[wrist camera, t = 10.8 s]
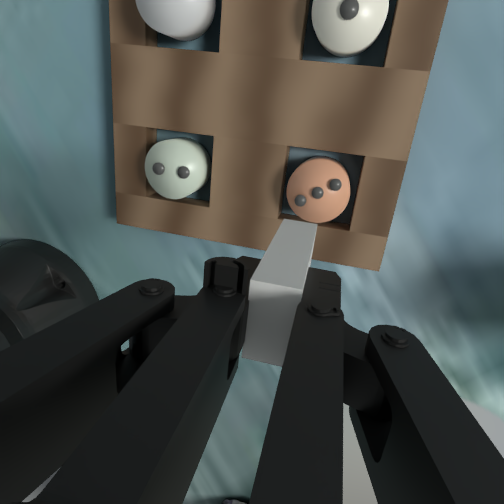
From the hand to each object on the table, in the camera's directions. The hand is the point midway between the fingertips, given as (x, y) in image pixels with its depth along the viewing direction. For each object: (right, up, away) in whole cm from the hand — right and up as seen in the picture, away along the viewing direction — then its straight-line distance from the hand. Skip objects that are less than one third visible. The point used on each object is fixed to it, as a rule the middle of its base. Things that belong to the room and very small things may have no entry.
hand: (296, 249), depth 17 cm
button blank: (-7, +18, +11) cm, 22 cm away
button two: (-8, +8, +16) cm, 20 cm away
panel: (-1, +12, +13) cm, 18 cm away
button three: (+4, +6, +14) cm, 16 cm away
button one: (+5, +17, +10) cm, 20 cm away
